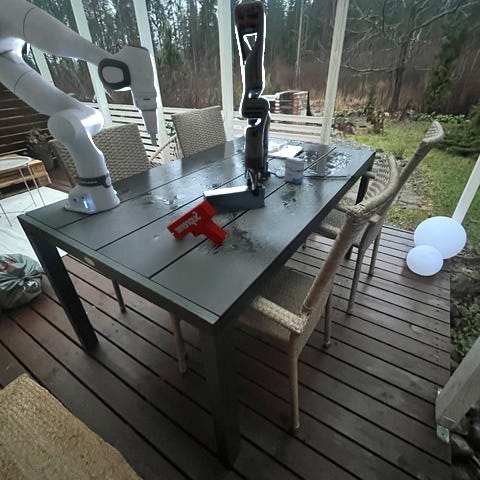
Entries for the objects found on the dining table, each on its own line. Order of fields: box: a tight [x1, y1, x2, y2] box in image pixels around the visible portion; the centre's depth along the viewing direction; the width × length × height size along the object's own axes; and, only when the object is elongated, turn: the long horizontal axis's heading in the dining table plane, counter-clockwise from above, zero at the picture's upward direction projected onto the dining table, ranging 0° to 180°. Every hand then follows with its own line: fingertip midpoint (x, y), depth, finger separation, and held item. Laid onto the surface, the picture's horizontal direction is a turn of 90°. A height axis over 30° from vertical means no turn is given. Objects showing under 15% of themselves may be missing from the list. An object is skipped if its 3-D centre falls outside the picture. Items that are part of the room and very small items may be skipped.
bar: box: [202, 184, 266, 215], centre depth 114 cm, size 25×5×9 cm, turn 109°
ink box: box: [284, 156, 306, 185], centre depth 140 cm, size 8×5×12 cm, turn 47°
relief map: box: [242, 138, 304, 160], centre depth 192 cm, size 27×35×5 cm
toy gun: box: [166, 199, 228, 248], centre depth 93 cm, size 18×4×15 cm
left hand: (153, 142), depth 102 cm, fingers open, 8 cm apart
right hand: (252, 193), depth 115 cm, fingers open, 8 cm apart
